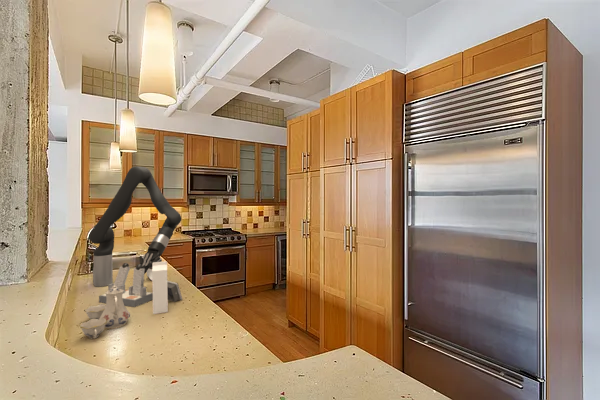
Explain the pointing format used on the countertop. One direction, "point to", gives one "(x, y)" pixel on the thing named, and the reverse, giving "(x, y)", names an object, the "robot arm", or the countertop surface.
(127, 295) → the switch panel
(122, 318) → the chinaware
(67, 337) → the countertop surface
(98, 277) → the robot arm
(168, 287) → the electrical switch
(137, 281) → the lever outer
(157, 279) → the milk
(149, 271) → the spread jar
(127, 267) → the lever inner
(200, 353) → the countertop surface
